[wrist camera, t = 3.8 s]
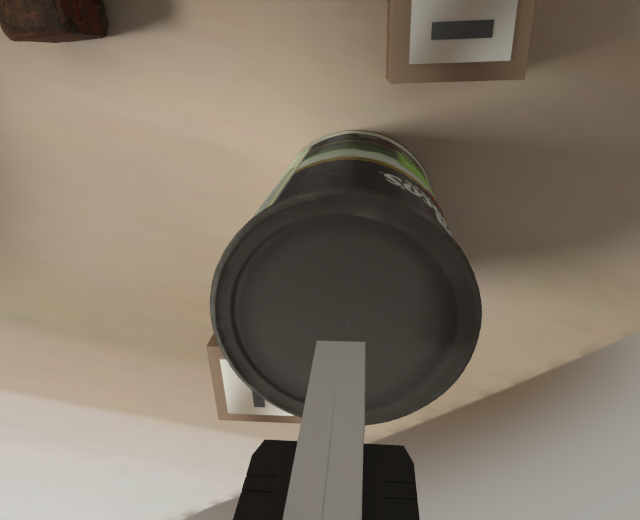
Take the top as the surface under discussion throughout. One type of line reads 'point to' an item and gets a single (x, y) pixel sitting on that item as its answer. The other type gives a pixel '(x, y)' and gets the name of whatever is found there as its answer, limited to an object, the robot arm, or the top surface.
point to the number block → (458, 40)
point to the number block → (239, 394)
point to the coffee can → (348, 280)
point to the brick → (53, 20)
